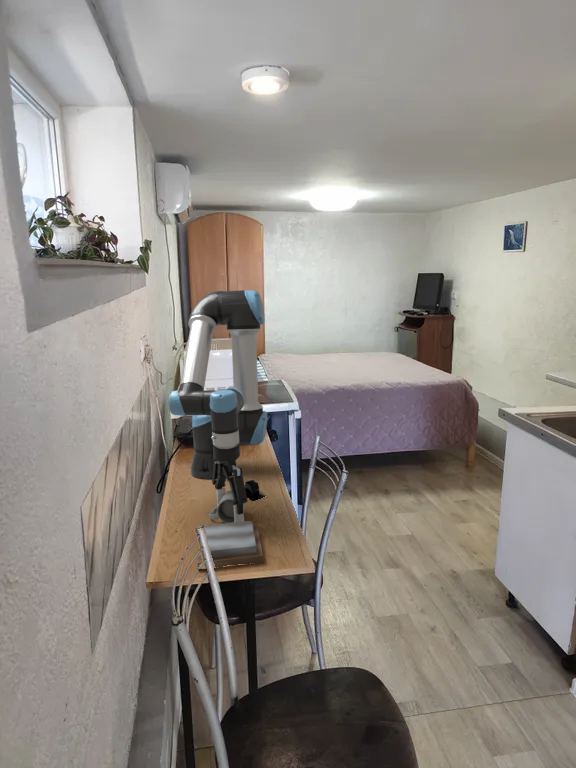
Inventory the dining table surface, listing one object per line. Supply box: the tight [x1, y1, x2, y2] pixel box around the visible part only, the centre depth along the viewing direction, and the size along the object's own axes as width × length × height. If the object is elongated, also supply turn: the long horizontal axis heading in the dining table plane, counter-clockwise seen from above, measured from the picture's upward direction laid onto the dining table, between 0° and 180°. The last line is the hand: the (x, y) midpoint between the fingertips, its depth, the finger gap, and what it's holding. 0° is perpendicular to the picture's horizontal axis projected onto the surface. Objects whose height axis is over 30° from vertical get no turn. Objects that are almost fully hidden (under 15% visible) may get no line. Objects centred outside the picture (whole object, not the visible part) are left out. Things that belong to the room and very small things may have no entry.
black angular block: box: [244, 479, 267, 502], centre depth 160 cm, size 12×7×5 cm, turn 36°
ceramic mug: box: [208, 490, 246, 523], centre depth 145 cm, size 11×8×8 cm
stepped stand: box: [197, 520, 264, 569], centre depth 128 cm, size 16×16×4 cm
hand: (230, 515), depth 145 cm, fingers closed on ceramic mug, 10 cm apart
